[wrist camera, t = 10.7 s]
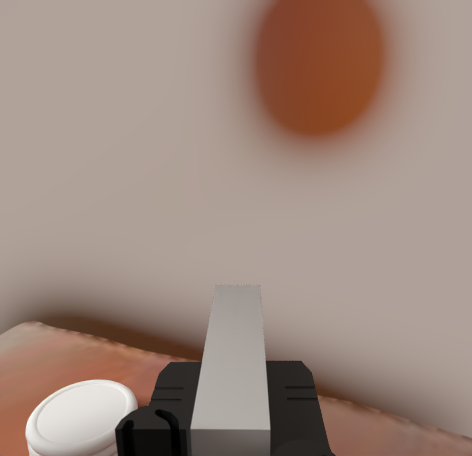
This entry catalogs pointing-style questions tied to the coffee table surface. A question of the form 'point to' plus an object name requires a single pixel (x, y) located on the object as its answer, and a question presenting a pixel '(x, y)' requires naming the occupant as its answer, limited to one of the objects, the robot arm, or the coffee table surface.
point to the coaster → (79, 420)
